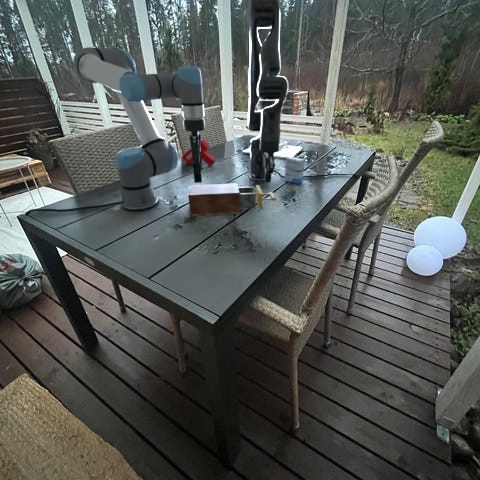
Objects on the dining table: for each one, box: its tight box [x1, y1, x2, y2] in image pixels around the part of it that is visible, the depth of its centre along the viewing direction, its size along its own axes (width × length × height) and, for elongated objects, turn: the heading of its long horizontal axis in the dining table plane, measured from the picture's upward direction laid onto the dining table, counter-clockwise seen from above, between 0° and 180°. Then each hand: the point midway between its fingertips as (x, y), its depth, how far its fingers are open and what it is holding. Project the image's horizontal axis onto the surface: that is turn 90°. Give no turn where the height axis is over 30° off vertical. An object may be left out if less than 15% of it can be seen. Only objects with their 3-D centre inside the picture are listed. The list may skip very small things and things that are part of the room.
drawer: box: [238, 184, 277, 211], centre depth 115 cm, size 25×9×7 cm, turn 96°
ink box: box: [284, 156, 306, 185], centre depth 140 cm, size 8×5×12 cm, turn 47°
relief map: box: [242, 141, 304, 160], centre depth 192 cm, size 27×35×5 cm
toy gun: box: [181, 138, 216, 167], centre depth 167 cm, size 18×4×15 cm
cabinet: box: [187, 182, 241, 217], centre depth 114 cm, size 20×10×9 cm, turn 96°
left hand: (198, 176), depth 108 cm, fingers open, 13 cm apart
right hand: (267, 181), depth 112 cm, fingers closed
